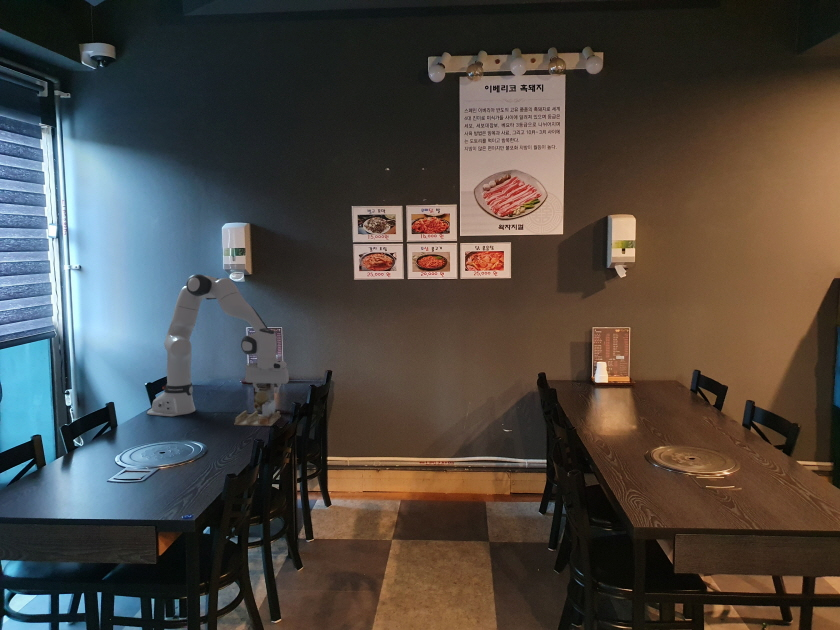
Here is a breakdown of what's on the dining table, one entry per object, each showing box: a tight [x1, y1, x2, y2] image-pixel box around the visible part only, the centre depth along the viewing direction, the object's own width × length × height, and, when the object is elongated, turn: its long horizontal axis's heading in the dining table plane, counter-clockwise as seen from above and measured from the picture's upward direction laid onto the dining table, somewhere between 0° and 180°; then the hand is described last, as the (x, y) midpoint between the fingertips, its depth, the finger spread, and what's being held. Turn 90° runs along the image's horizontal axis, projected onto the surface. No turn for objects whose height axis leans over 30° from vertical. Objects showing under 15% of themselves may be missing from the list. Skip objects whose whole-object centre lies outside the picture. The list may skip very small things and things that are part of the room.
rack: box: [233, 410, 282, 427], centre depth 282 cm, size 17×15×3 cm
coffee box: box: [253, 383, 276, 413], centre depth 300 cm, size 9×6×16 cm
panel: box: [261, 399, 276, 420], centre depth 282 cm, size 3×10×8 cm, turn 177°
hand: (267, 392), depth 280 cm, fingers open, 8 cm apart
